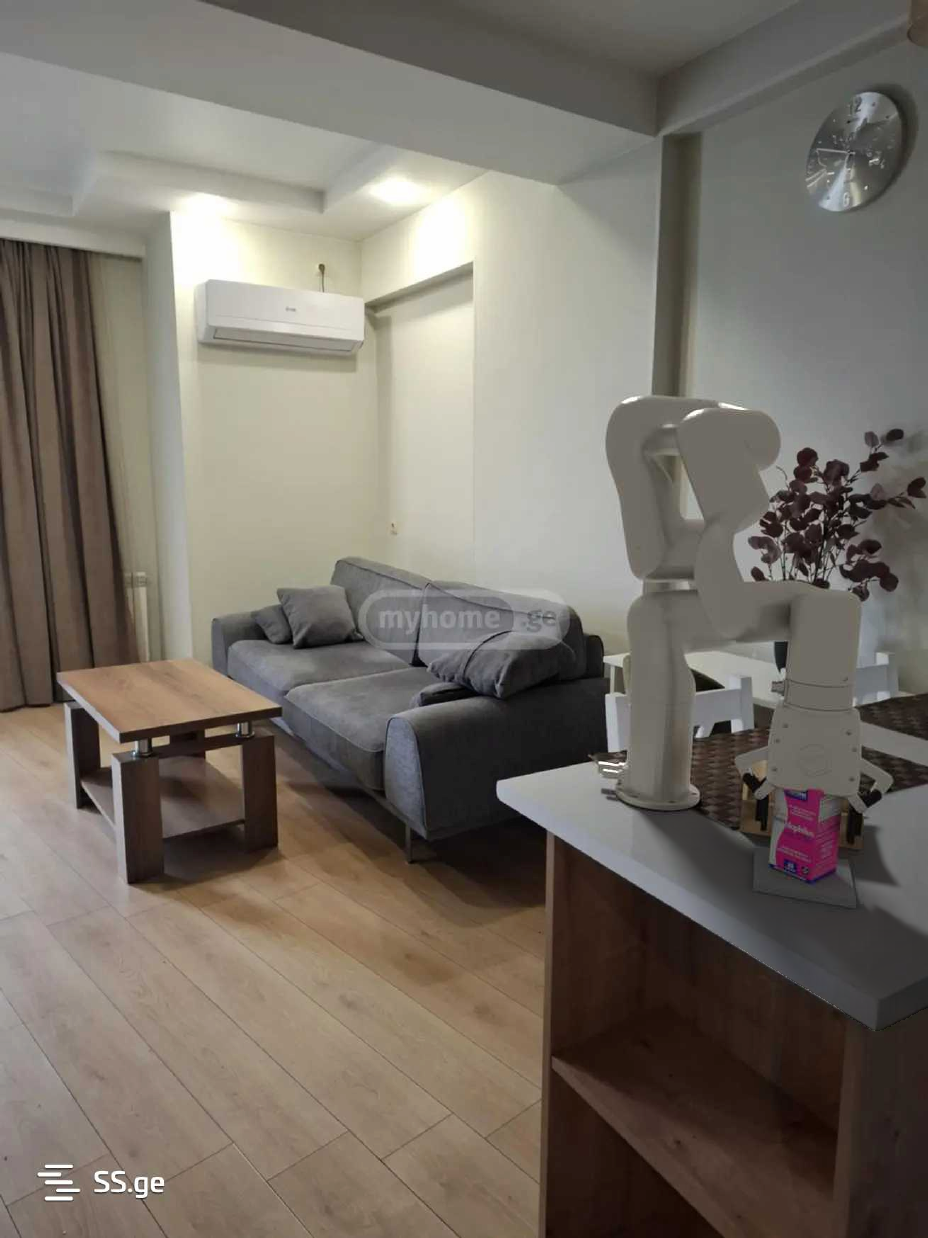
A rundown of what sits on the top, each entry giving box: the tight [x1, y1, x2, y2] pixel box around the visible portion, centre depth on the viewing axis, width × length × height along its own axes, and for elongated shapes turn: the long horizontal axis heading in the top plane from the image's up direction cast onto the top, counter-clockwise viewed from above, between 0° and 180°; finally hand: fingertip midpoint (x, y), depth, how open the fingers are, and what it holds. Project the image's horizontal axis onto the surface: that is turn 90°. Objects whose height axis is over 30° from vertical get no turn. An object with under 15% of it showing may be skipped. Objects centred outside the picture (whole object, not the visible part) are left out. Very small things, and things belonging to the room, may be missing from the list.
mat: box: [752, 845, 857, 910], centre depth 101 cm, size 11×11×1 cm
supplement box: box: [769, 788, 843, 884], centre depth 100 cm, size 6×6×12 cm
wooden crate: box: [739, 760, 870, 851], centre depth 116 cm, size 15×19×6 cm
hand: (805, 833), depth 100 cm, fingers open, 9 cm apart
